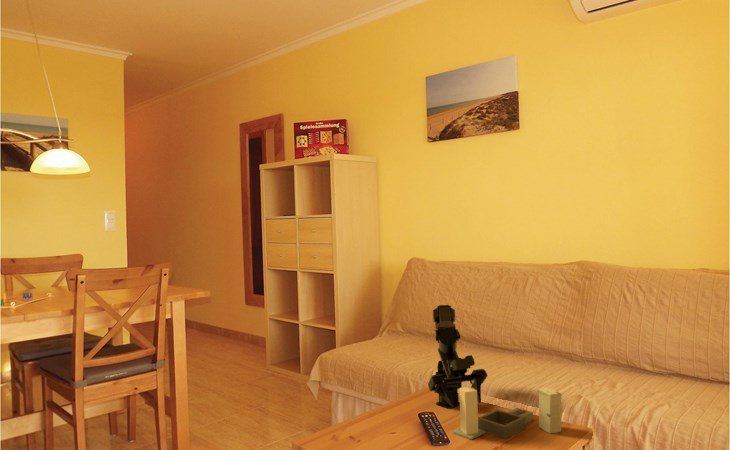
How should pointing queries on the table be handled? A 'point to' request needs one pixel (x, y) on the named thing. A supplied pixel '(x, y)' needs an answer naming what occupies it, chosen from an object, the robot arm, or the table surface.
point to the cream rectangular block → (468, 410)
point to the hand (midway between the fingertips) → (466, 404)
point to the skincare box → (550, 410)
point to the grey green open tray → (512, 419)
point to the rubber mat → (469, 436)
